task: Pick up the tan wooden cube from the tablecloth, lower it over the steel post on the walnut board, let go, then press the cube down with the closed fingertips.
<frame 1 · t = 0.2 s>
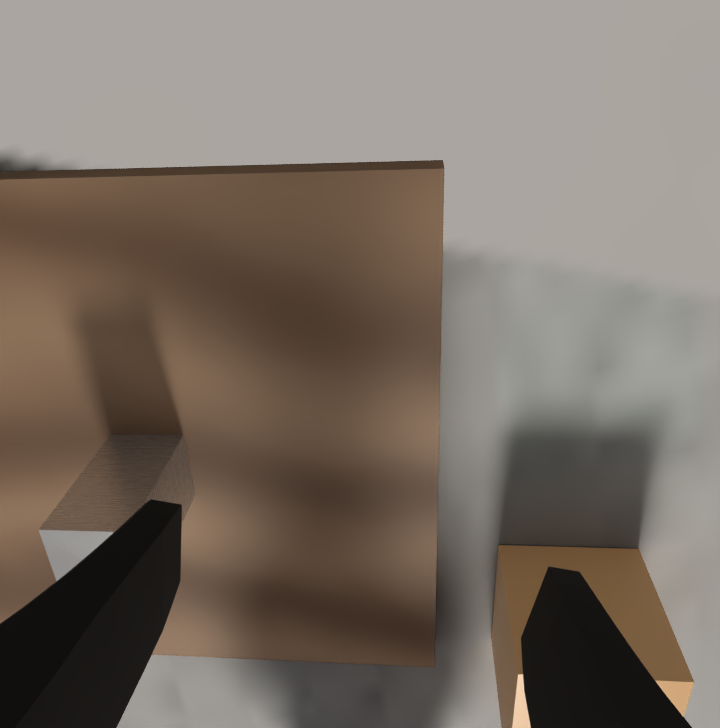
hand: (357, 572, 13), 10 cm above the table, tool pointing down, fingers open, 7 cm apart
base board: (165, 445, 24), on the table
post: (165, 445, 24), resting on base board
tan wooden cube: (560, 596, 26), on the table
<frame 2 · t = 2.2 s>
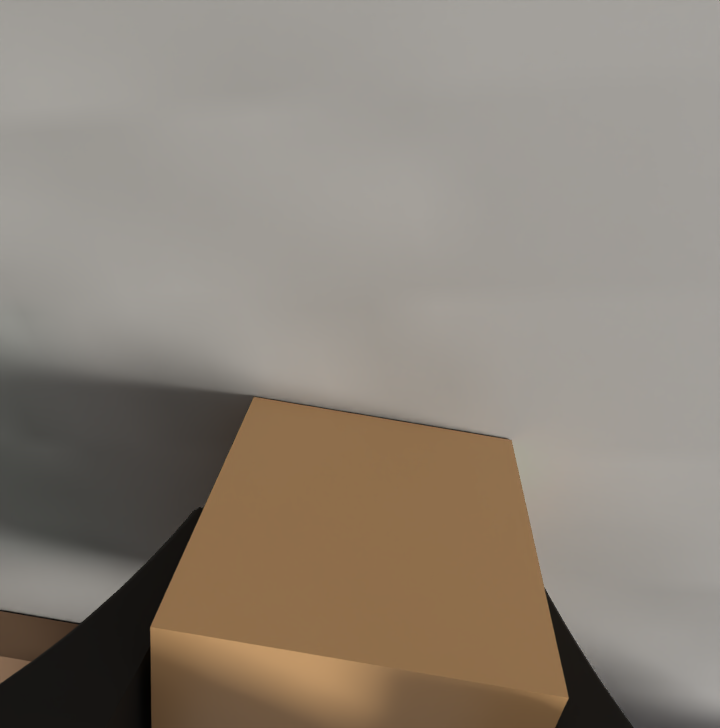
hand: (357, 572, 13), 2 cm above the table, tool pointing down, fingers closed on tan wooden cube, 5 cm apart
tan wooden cube: (363, 517, 14), on the table, touching gripper
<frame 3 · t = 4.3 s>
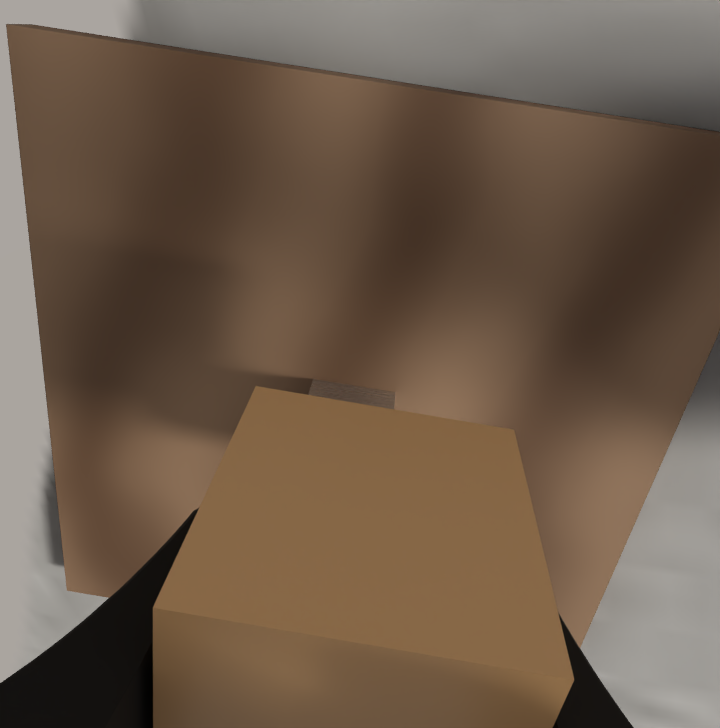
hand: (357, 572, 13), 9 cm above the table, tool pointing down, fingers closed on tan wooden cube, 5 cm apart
base board: (352, 401, 22), on the table
post: (352, 401, 22), resting on base board
tan wooden cube: (365, 509, 14), point 8 cm above the table, touching gripper
when the fingers open (4 cm above the table, at t = 6.4 s): tan wooden cube stays where it is, resting on base board.
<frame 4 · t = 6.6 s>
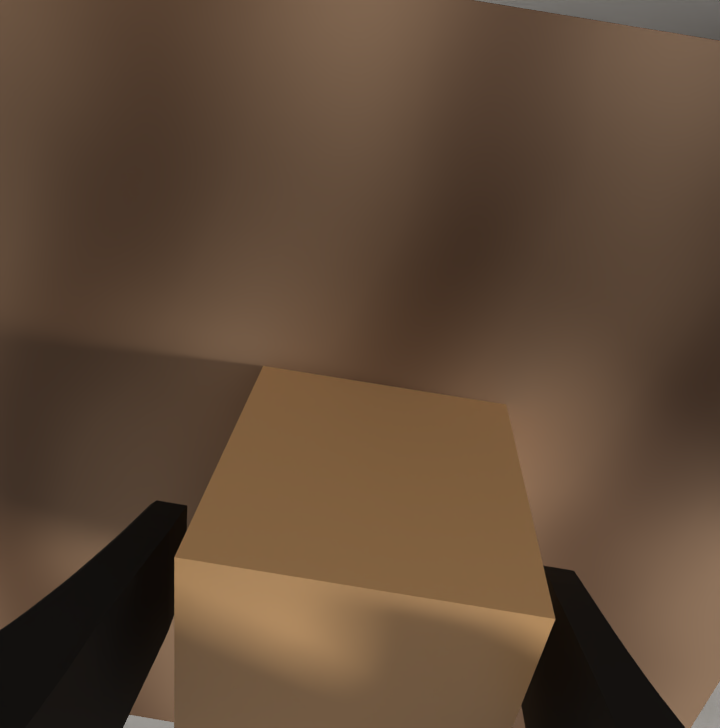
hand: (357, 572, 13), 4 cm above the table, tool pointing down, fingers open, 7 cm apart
base board: (370, 458, 16), on the table
tan wooden cube: (367, 482, 15), point 1 cm above the table, touching base board
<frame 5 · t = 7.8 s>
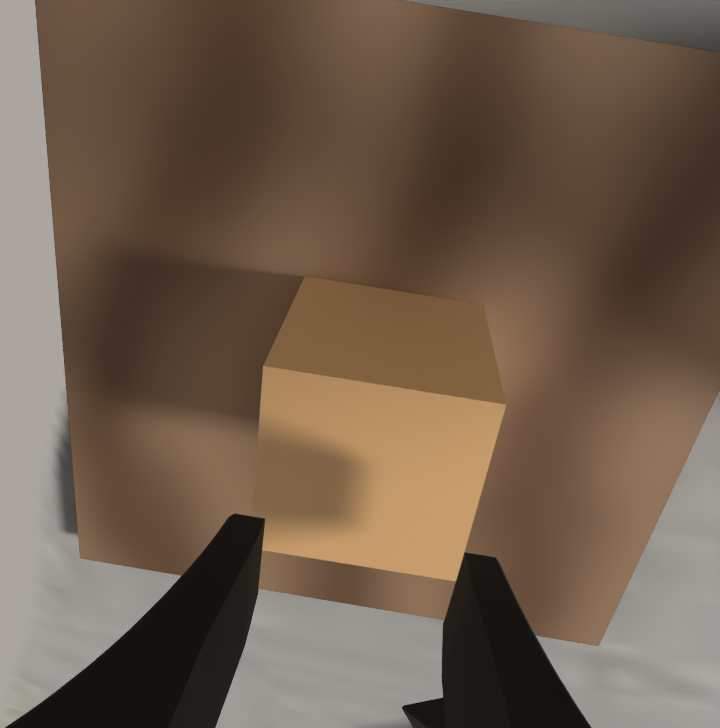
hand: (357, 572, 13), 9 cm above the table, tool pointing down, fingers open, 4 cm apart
base board: (382, 357, 21), on the table
tan wooden cube: (380, 368, 20), point 1 cm above the table, touching base board
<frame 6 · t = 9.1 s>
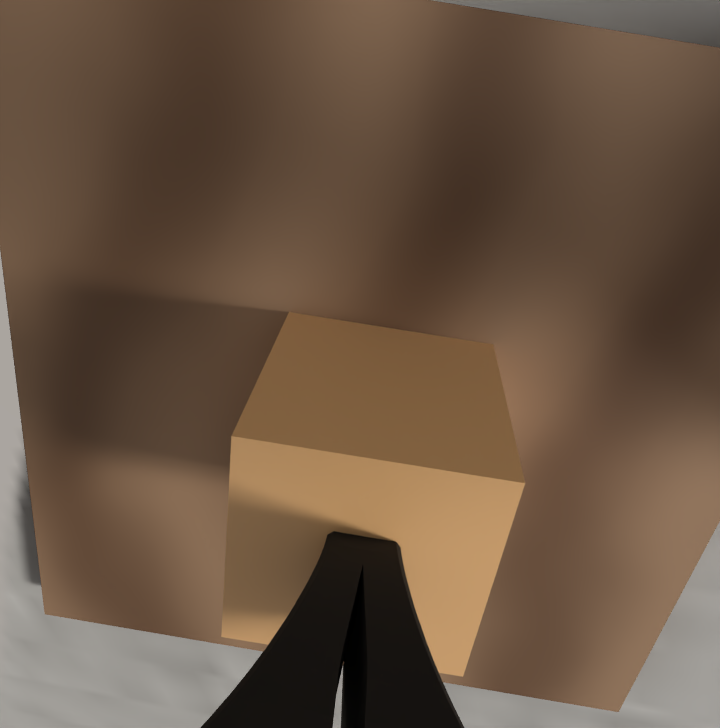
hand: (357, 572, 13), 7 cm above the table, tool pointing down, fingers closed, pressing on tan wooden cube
base board: (378, 398, 19), on the table
tan wooden cube: (375, 414, 17), point 1 cm above the table, touching base board, gripper
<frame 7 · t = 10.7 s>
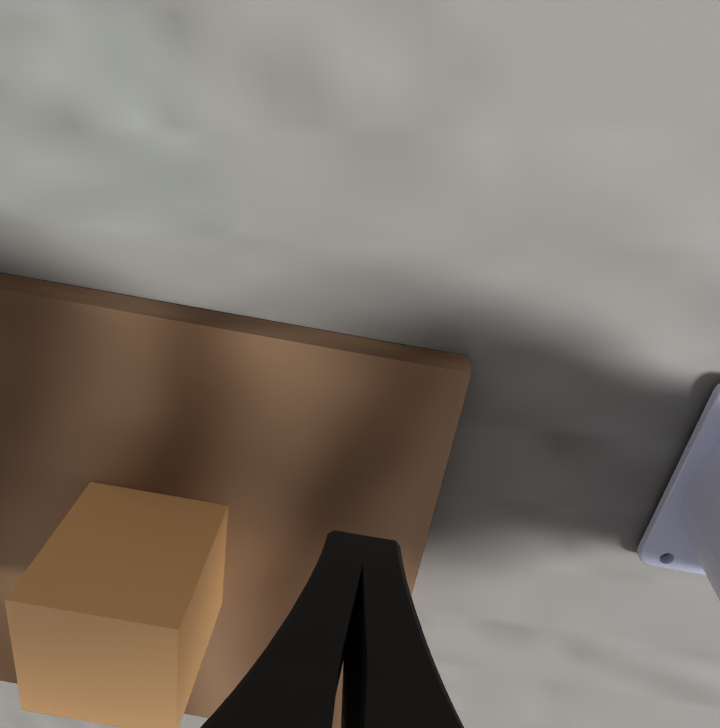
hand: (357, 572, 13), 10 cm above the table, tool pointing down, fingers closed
base board: (170, 528, 26), on the table
tan wooden cube: (159, 545, 25), point 1 cm above the table, touching base board
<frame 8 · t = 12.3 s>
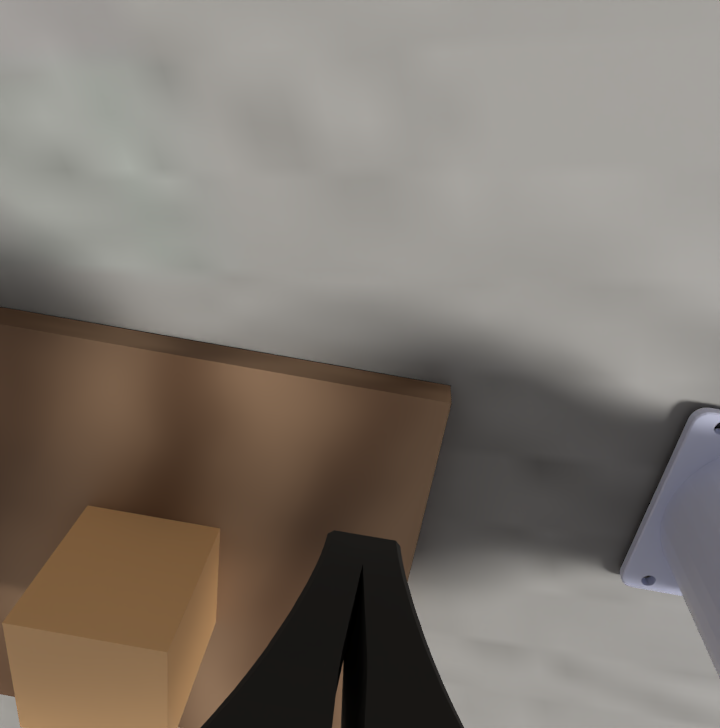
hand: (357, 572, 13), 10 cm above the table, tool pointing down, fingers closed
base board: (165, 549, 27), on the table
tan wooden cube: (154, 566, 26), point 1 cm above the table, touching base board
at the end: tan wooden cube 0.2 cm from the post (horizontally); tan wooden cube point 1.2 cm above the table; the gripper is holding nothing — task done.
